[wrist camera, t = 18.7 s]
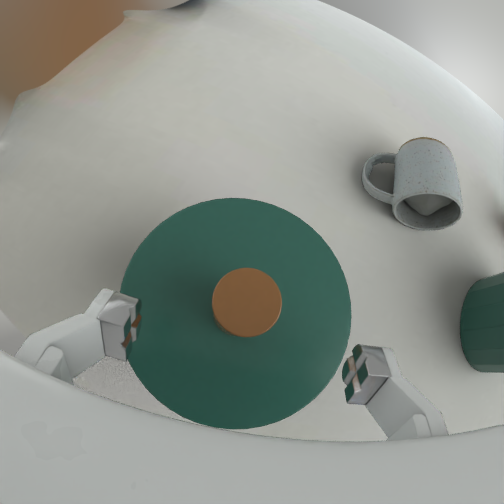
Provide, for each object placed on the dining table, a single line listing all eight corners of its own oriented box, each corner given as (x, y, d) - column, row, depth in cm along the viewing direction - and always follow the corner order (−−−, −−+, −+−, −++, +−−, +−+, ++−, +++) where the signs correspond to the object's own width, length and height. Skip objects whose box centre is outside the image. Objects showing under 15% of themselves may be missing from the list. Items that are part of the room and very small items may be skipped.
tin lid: (321, 433, 16) (368, 470, 10) (106, 393, 15) (58, 417, 9) (352, 232, 19) (403, 191, 13) (156, 188, 19) (136, 128, 13)
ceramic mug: (432, 178, 33) (467, 148, 26) (433, 237, 31) (477, 212, 23) (359, 148, 33) (388, 108, 25) (355, 209, 30) (390, 174, 23)
